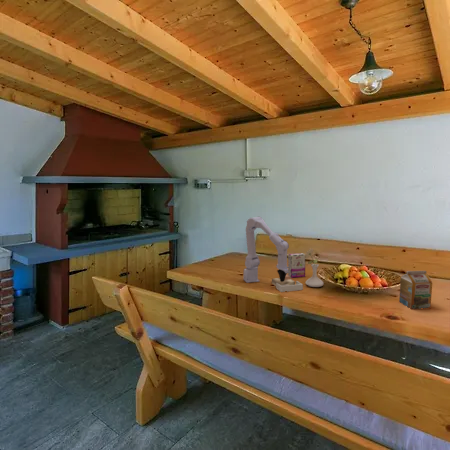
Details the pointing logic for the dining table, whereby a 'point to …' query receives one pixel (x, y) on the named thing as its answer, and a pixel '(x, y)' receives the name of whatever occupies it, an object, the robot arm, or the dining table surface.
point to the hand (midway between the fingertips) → (282, 281)
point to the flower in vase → (314, 280)
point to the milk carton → (416, 290)
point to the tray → (290, 287)
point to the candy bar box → (296, 265)
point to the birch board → (288, 282)
